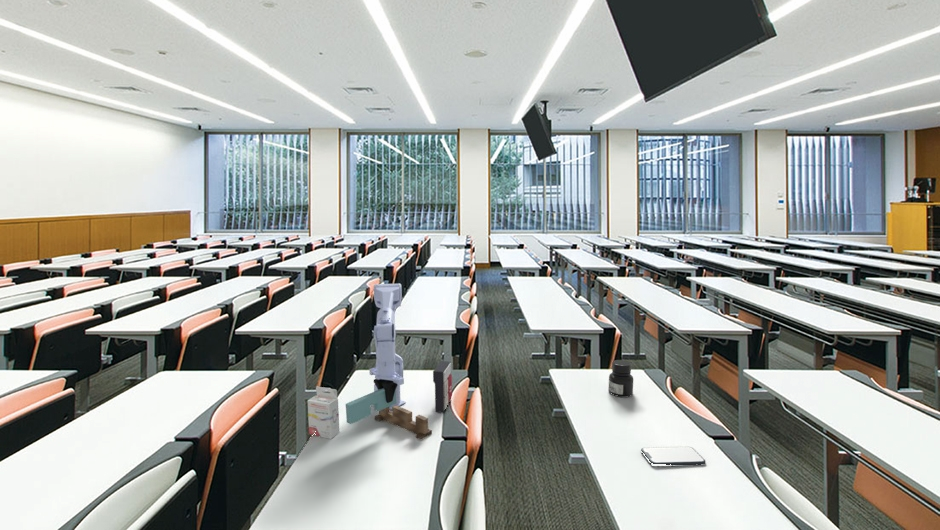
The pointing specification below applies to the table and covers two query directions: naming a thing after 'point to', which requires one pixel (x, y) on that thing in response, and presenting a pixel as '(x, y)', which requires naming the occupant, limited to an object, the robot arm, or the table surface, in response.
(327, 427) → the ink cartridge box
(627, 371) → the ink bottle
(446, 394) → the dark grey box
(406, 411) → the walnut stand
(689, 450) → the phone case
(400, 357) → the robot arm
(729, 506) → the table surface
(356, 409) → the teal plate
